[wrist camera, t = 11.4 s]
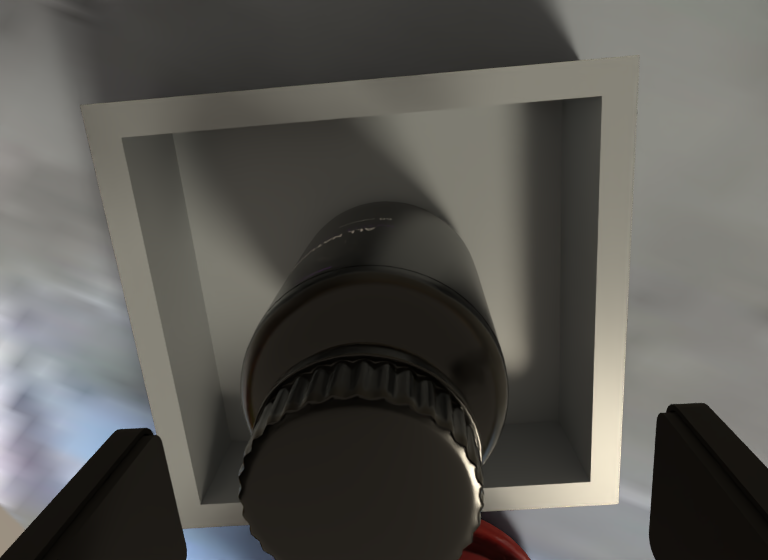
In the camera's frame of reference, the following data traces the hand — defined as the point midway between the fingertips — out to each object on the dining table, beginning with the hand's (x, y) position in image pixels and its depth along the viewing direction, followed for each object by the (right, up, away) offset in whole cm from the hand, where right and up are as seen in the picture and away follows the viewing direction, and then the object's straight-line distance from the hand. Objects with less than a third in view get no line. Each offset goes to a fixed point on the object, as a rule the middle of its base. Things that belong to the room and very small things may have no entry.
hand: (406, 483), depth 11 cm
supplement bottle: (0, +4, +12) cm, 12 cm away
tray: (-1, +4, +12) cm, 13 cm away
